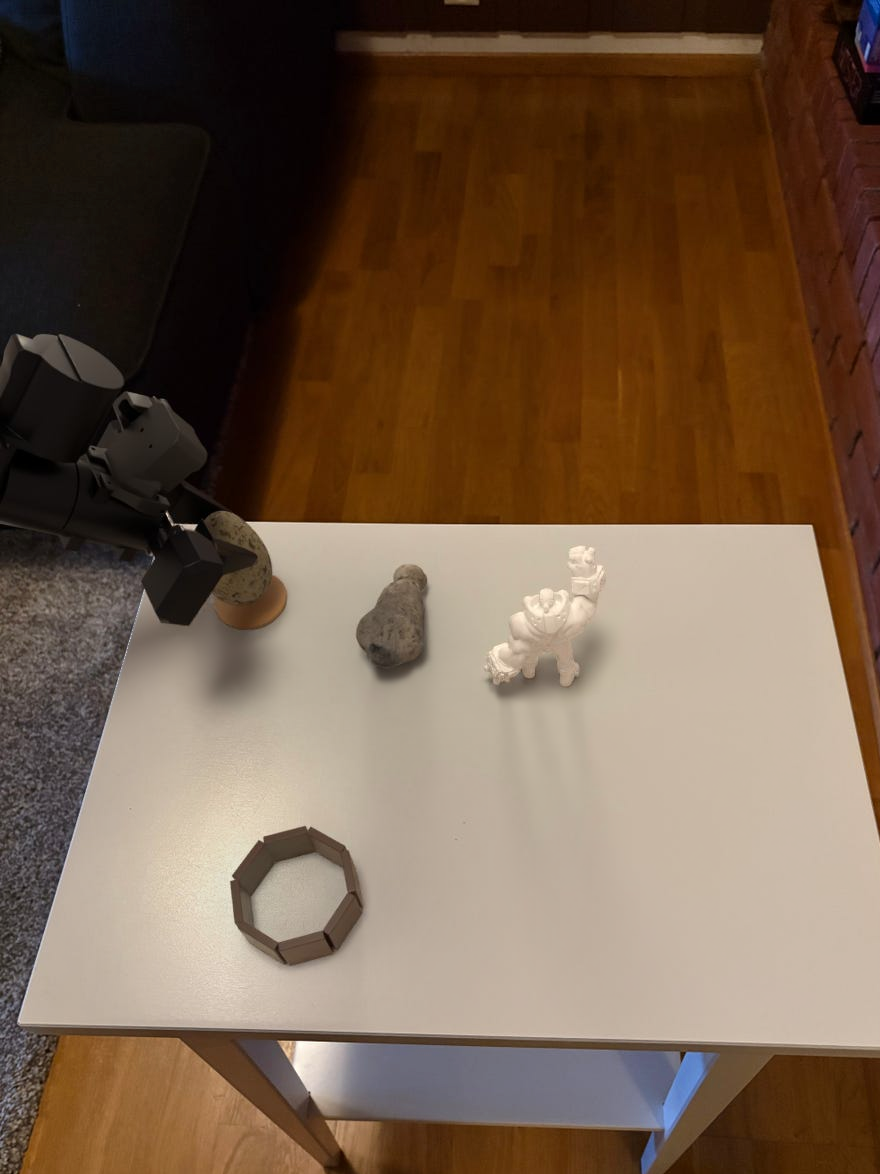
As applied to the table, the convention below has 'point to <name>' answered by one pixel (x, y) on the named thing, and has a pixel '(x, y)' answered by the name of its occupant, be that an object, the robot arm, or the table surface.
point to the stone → (395, 620)
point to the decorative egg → (247, 581)
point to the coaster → (255, 608)
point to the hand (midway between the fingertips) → (243, 538)
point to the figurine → (550, 623)
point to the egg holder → (258, 867)
